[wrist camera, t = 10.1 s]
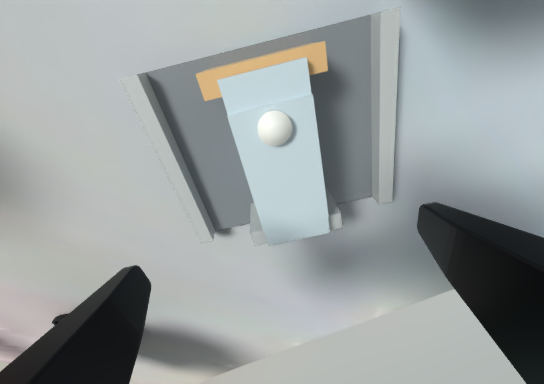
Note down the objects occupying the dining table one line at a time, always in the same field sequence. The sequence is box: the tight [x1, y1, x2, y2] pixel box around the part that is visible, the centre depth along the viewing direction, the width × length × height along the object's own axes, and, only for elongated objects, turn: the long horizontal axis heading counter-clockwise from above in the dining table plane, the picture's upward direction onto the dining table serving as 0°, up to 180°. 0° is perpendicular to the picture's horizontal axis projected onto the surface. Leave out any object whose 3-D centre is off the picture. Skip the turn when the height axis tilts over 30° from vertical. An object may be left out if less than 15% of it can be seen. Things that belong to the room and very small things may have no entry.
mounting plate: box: [119, 7, 400, 246], centre depth 15 cm, size 12×15×4 cm
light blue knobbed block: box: [217, 57, 330, 246], centre depth 15 cm, size 10×4×5 cm, turn 13°
